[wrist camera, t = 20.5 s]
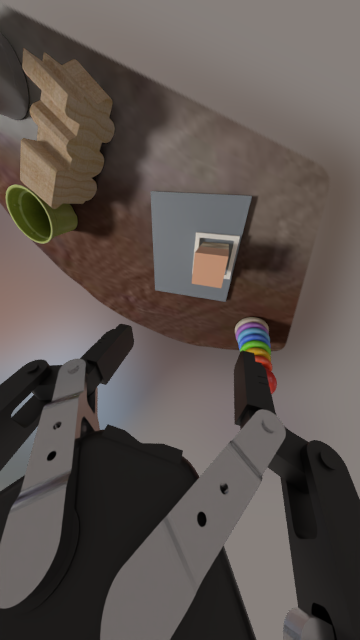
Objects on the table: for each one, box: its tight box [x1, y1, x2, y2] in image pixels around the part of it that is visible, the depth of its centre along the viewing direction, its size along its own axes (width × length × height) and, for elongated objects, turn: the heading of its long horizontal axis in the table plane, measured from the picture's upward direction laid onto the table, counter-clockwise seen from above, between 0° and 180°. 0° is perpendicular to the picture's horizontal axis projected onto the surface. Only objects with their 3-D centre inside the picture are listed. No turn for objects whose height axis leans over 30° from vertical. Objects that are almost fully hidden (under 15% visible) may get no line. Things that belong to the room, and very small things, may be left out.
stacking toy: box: [235, 317, 277, 394], centre depth 34 cm, size 8×8×19 cm
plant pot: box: [6, 185, 78, 243], centre depth 34 cm, size 9×9×9 cm
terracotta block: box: [192, 246, 229, 288], centre depth 27 cm, size 5×5×5 cm
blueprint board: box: [151, 191, 252, 302], centre depth 34 cm, size 18×20×2 cm
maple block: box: [200, 242, 229, 249], centre depth 31 cm, size 5×5×5 cm
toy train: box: [20, 48, 115, 209], centre depth 25 cm, size 6×17×10 cm, turn 140°
